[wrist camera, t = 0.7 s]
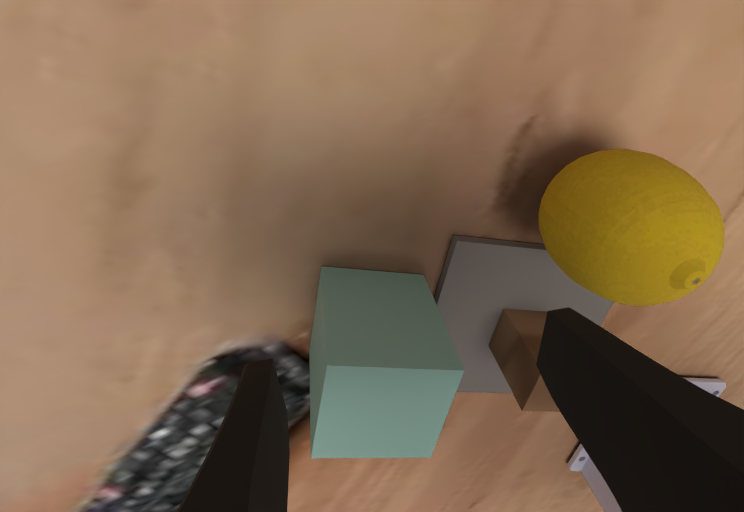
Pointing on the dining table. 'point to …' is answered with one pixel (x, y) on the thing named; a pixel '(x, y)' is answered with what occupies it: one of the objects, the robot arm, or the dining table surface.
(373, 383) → the upright teal cuboid
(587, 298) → the base
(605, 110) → the dining table surface
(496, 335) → the wooden toy block
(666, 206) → the lemon
